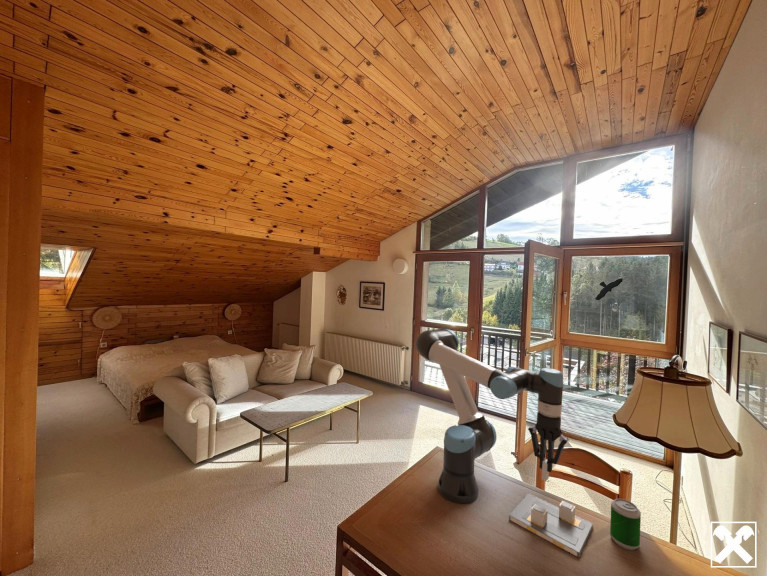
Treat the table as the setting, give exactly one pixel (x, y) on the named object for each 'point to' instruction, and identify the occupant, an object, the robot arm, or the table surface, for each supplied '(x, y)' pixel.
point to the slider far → (567, 511)
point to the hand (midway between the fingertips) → (545, 478)
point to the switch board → (553, 525)
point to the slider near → (539, 515)
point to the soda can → (625, 524)
